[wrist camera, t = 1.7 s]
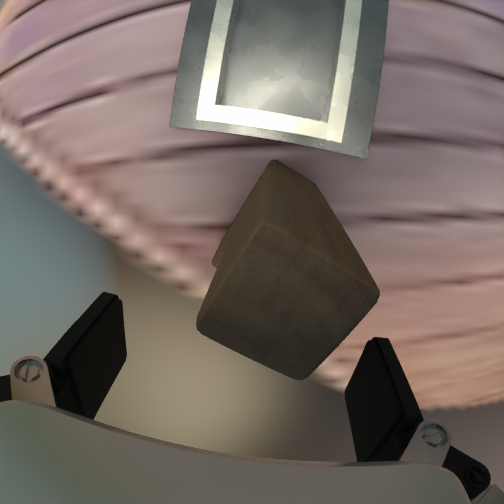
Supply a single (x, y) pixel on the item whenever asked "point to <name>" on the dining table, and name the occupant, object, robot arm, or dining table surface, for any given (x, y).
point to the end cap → (283, 70)
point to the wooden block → (286, 278)
